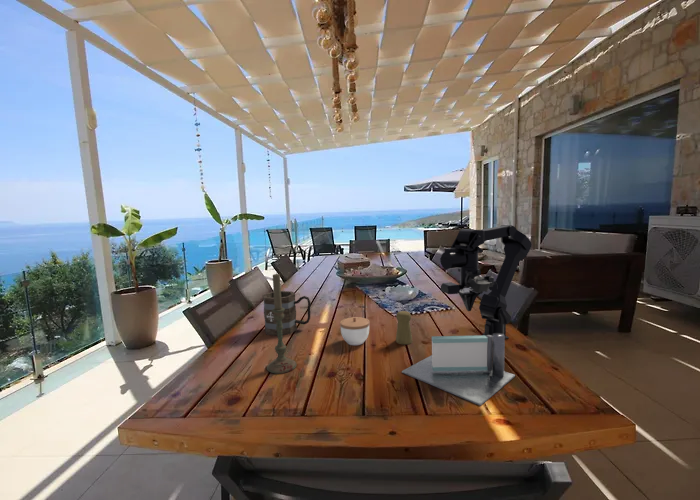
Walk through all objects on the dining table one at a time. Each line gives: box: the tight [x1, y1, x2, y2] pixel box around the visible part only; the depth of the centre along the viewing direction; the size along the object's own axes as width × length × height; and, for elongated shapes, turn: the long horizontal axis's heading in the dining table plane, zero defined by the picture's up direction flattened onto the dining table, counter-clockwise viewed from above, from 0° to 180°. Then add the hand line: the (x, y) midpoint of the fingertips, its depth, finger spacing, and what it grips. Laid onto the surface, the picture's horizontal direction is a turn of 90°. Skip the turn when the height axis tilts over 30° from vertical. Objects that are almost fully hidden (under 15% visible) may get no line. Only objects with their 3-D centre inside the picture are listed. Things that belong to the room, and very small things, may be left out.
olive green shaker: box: [395, 310, 413, 345], centre depth 120 cm, size 6×6×11 cm
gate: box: [431, 334, 493, 371], centre depth 95 cm, size 17×2×10 cm, turn 87°
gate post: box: [401, 333, 516, 406], centre depth 94 cm, size 24×20×12 cm
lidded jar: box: [339, 316, 370, 346], centre depth 121 cm, size 11×11×9 cm
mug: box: [262, 290, 312, 337], centre depth 137 cm, size 20×14×15 cm
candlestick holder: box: [266, 272, 298, 375], centre depth 102 cm, size 9×9×30 cm
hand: (468, 310), depth 114 cm, fingers closed
